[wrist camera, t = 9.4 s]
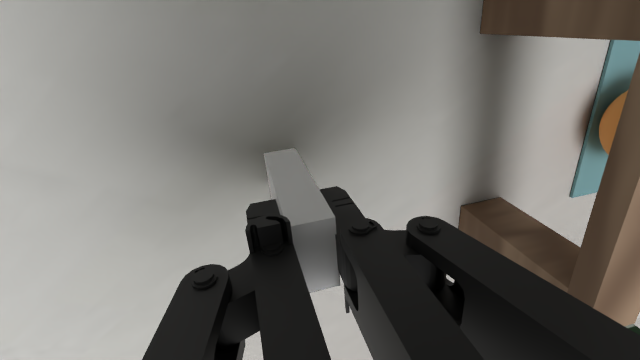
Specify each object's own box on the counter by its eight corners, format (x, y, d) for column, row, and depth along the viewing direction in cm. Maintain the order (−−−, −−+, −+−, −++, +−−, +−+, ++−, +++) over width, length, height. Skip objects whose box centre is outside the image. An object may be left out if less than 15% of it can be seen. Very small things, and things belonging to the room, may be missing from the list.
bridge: (458, 231, 24) (581, 340, 16) (484, -10, 17) (715, -37, 9) (496, 222, 24) (634, 323, 16) (535, -14, 18) (794, -44, 10)
